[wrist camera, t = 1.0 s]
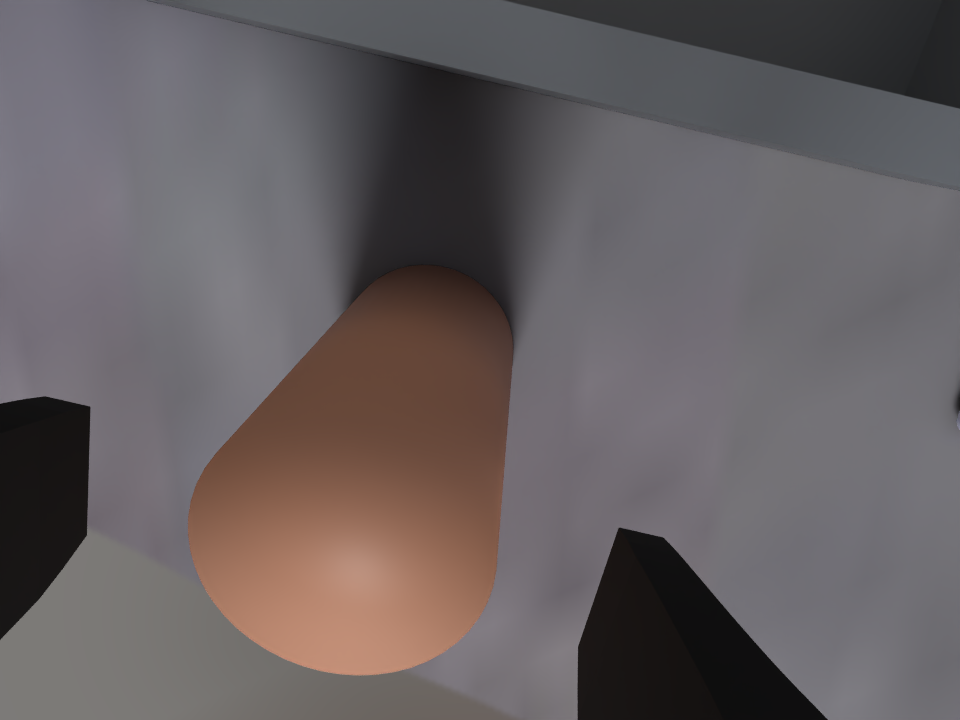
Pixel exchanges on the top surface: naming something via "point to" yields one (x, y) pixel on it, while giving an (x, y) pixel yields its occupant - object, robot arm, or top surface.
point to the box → (688, 64)
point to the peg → (367, 483)
